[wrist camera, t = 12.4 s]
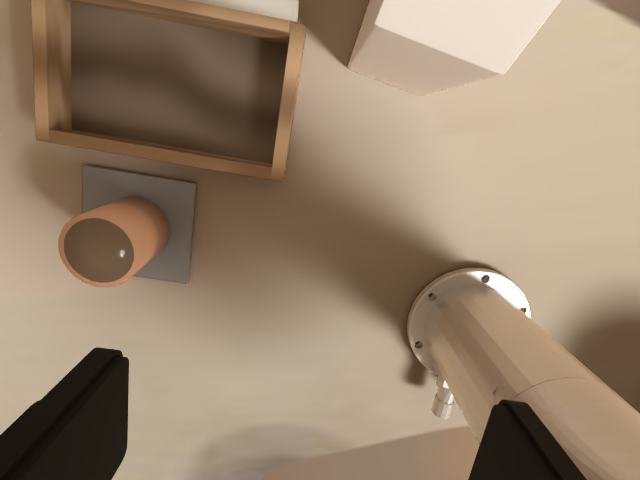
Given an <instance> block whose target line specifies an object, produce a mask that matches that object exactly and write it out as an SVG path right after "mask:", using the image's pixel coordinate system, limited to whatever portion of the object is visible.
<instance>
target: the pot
mask: <svg viewBox="0 0 640 480" xmlns="http://www.w3.org/2000/svg"><path fill="white" fill-rule="evenodd" d="M169 237H170V225H169V221H168V219H167V216H166V215H165V213H164V212H163V210H162V209H161V208H160V207H159V206H158V205H157V204H155V203H154V202H152V201H150V200H148V199H146V198H143V197H138V196H129V197H125V198H121V199H119V200H116V201H114V202H111V203H109V204H106V205H104V206H101V207H99V208H96V209H94V210H91V211H89V212H86V213H84V214H81V215H79V216H76V217H74V218H73V219H71V220H70V221H69V222H68V223H67V224H66V225H65V226H64V228H63V229H62V231H61V234H60V237H59V252H60V256H61V259H62V261H63V263H64V265H65V266H66V267H67V269H68V270H69V271H70V272H71V273H72V274H73V275H74V276H75V277H77V278H78V279H79V280H81V281H83V282H85V283H87V284H90V285H93V286H97V287H112V286H116V285H119V284H122V283H124V282H125V281H127V280H128V279H129V278H130V277H132V276H133V275H134V274H135V273H136V272H137V271H138V270H140V269H141V268H142V267H143V266H144V265H145V264H147V263H148V262H149V261H150V260H151V259H152V258H153V257H155V256H156V255H157V254H158V253H159V252H160V251H162V250H163V248H164V247H165V246H166V244H167V242H168V240H169Z"/></svg>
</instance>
